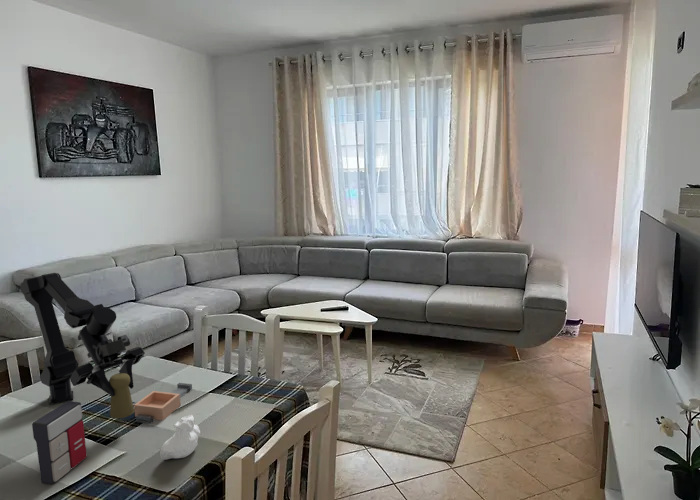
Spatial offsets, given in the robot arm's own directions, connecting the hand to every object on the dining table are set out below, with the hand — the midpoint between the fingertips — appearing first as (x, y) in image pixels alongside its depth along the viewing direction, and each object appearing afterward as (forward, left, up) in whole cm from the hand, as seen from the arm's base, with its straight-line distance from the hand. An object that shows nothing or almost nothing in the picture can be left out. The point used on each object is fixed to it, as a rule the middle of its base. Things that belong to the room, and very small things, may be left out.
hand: (123, 391), depth 131 cm
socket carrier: (-8, +9, -12) cm, 17 cm away
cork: (-1, -1, -7) cm, 7 cm away
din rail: (-11, +12, -12) cm, 20 cm away
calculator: (+11, -15, -12) cm, 22 cm away
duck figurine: (+18, +11, -12) cm, 24 cm away
